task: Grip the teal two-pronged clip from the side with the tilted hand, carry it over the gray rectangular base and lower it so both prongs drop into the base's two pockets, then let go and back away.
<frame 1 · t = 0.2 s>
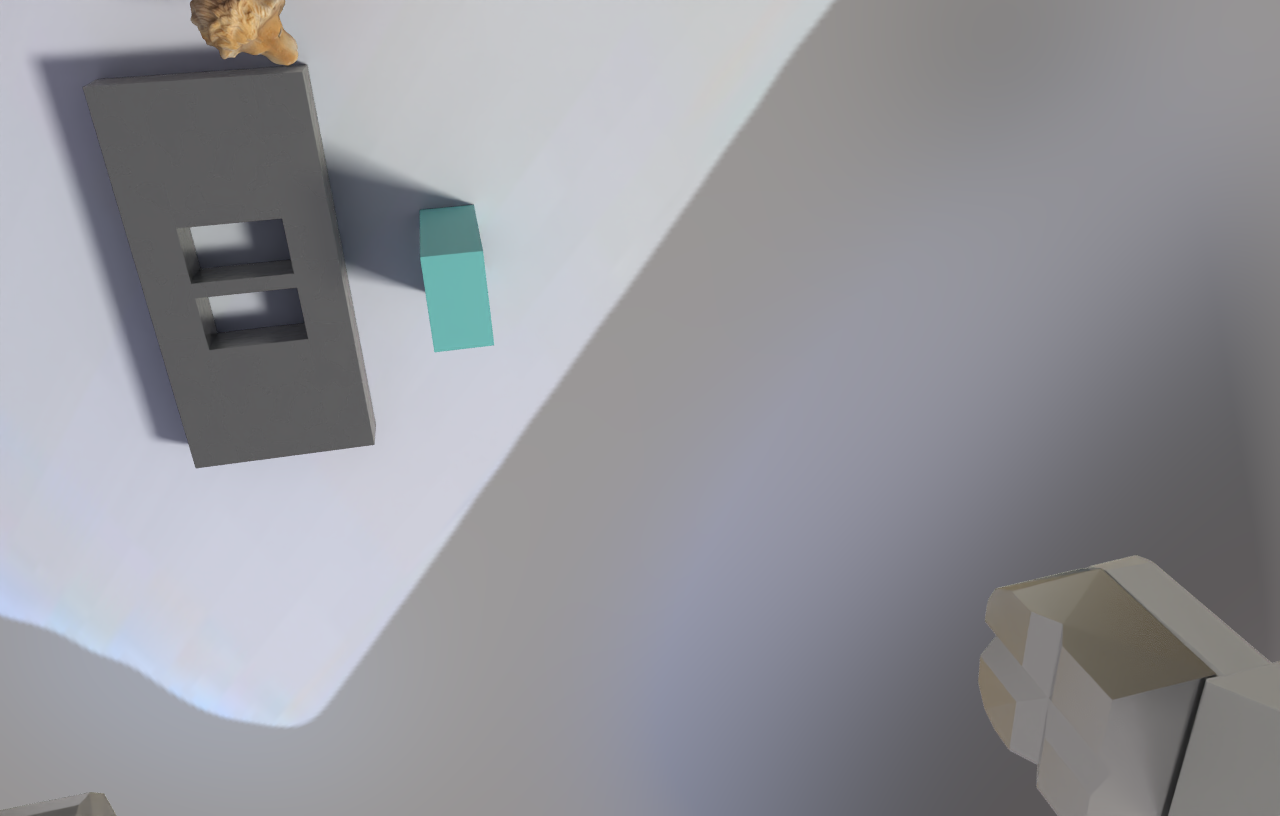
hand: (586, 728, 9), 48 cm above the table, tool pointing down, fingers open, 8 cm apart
clip: (452, 250, 55), on the table
gray rectangular base: (251, 270, 53), on the table
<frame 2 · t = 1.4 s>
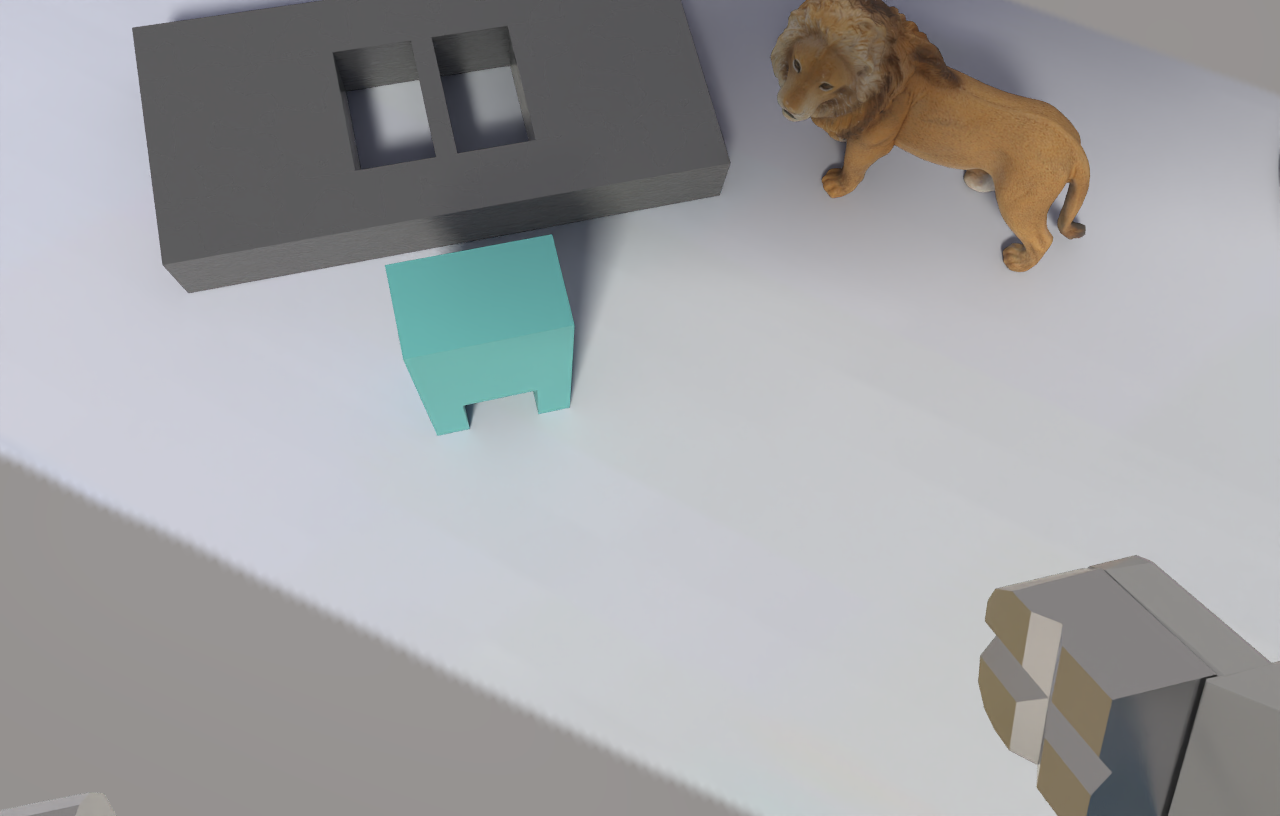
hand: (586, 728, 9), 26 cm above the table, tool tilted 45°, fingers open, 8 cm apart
clip: (496, 384, 36), on the table
lion figurine: (894, 195, 40), on the table
gray rectangular base: (440, 132, 39), on the table
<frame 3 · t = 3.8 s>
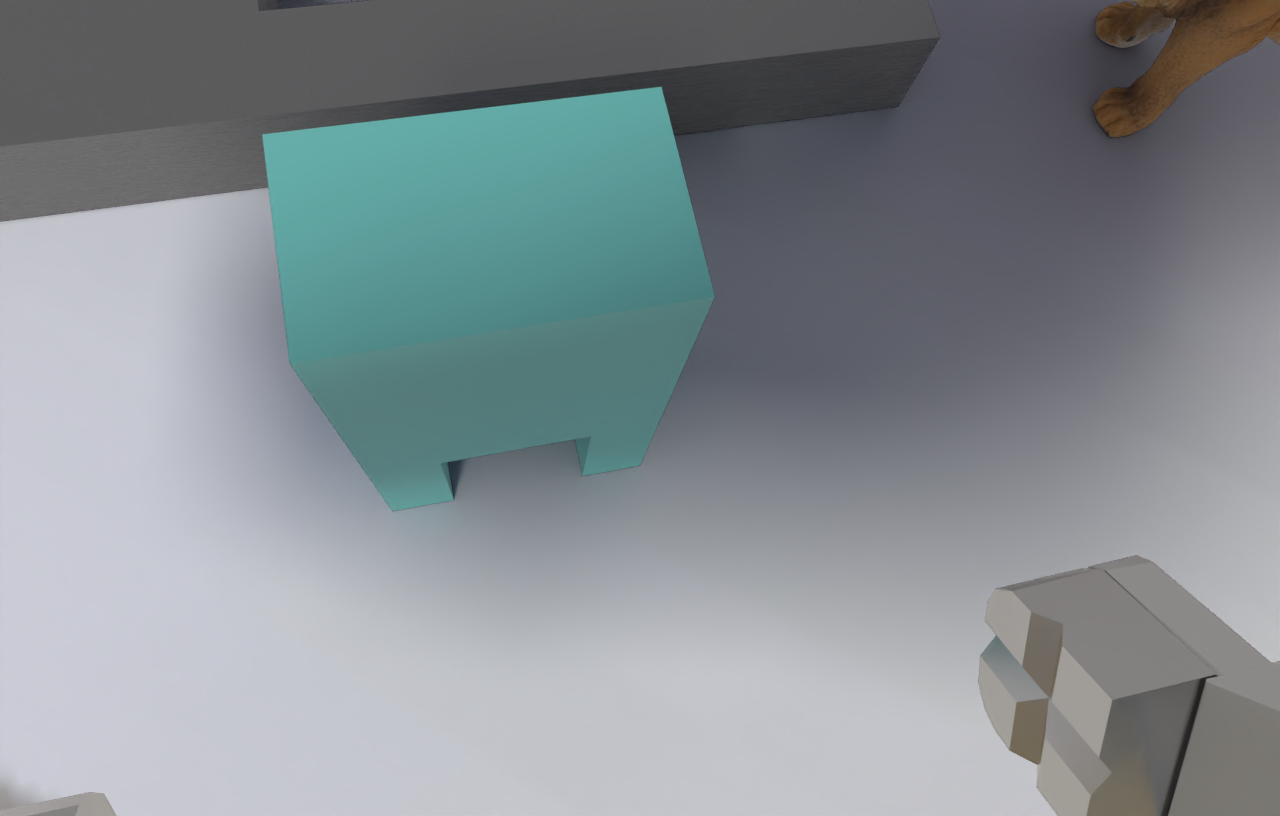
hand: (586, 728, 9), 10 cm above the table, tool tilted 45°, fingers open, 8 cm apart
clip: (505, 417, 20), on the table
lion figurine: (1208, 137, 24), on the table
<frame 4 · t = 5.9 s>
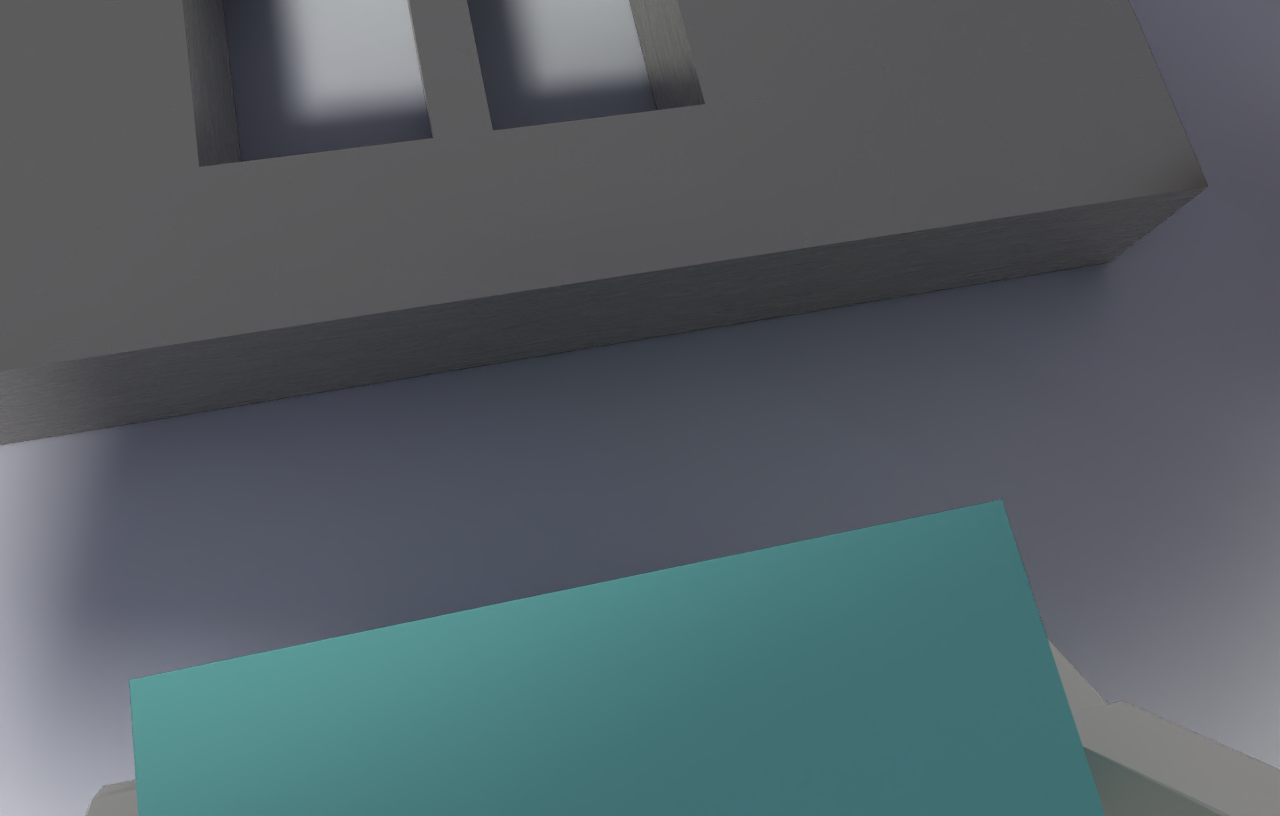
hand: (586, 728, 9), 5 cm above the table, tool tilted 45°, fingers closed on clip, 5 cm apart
clip: (576, 771, 13), on the table, touching gripper
gray rectangular base: (447, 85, 16), on the table
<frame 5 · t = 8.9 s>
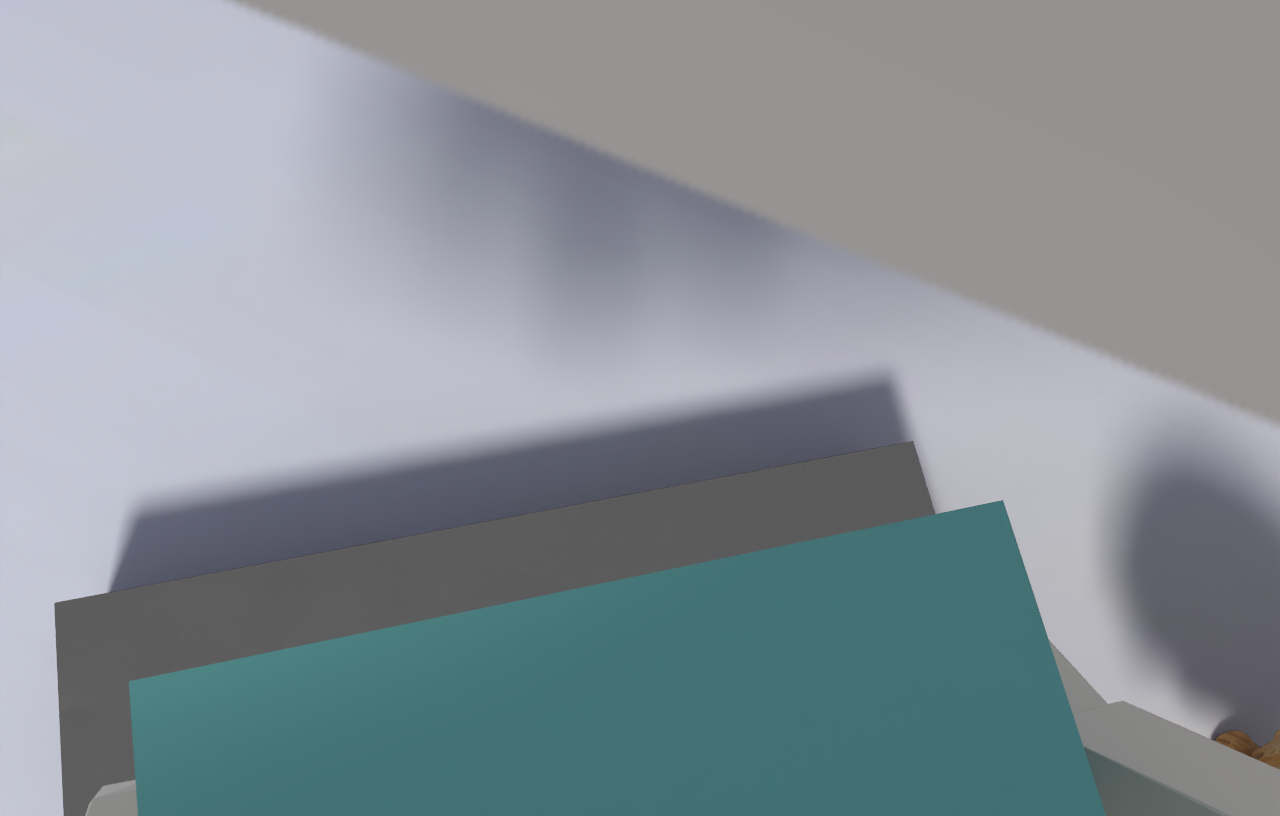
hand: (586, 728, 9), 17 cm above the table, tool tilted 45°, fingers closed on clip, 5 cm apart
clip: (576, 772, 13), point 12 cm above the table, touching gripper
gray rectangular base: (551, 725, 25), on the table
when the fingers open (6 cm above the table, at t = 11.9 s): clip drops 1 cm, resting in gray rectangular base.
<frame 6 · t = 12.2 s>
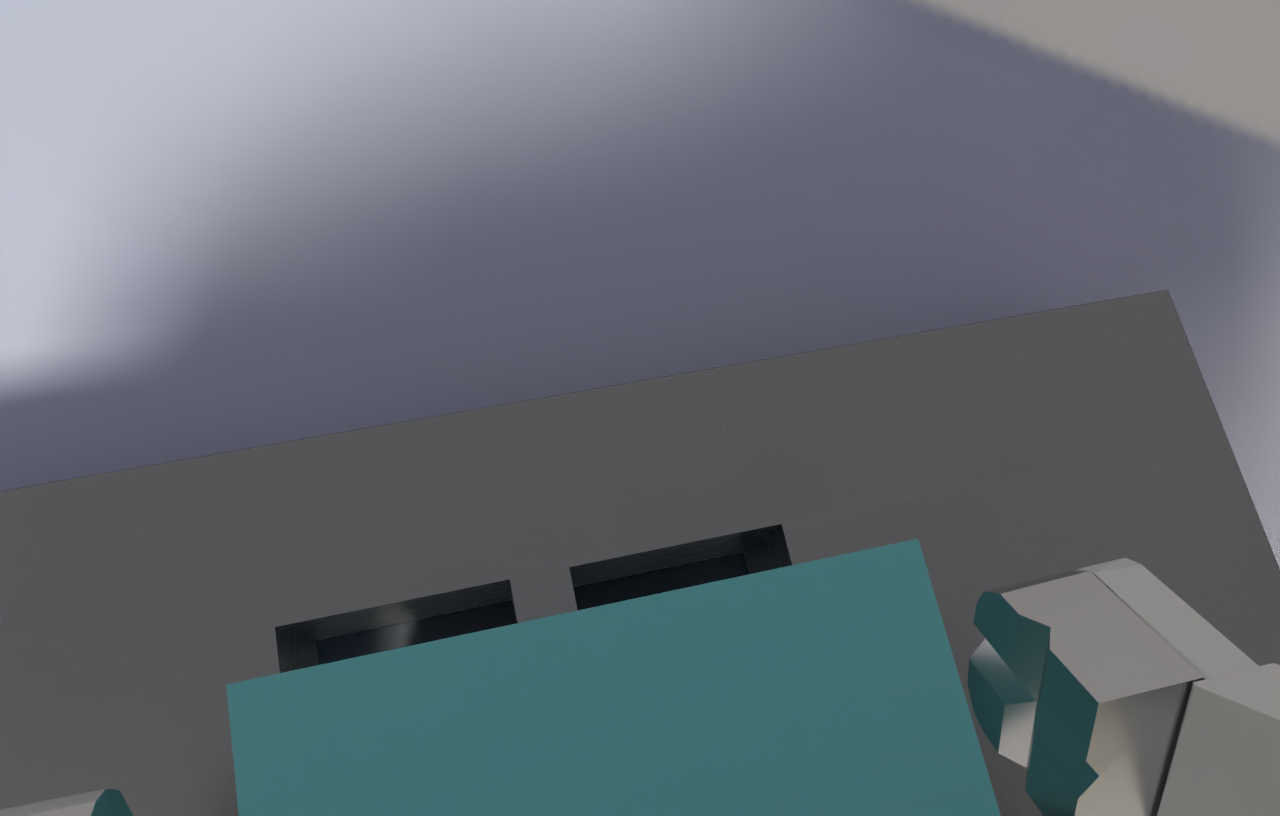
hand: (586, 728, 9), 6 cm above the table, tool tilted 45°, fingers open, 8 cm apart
clip: (576, 764, 14), resting in gray rectangular base
gray rectangular base: (569, 766, 14), on the table
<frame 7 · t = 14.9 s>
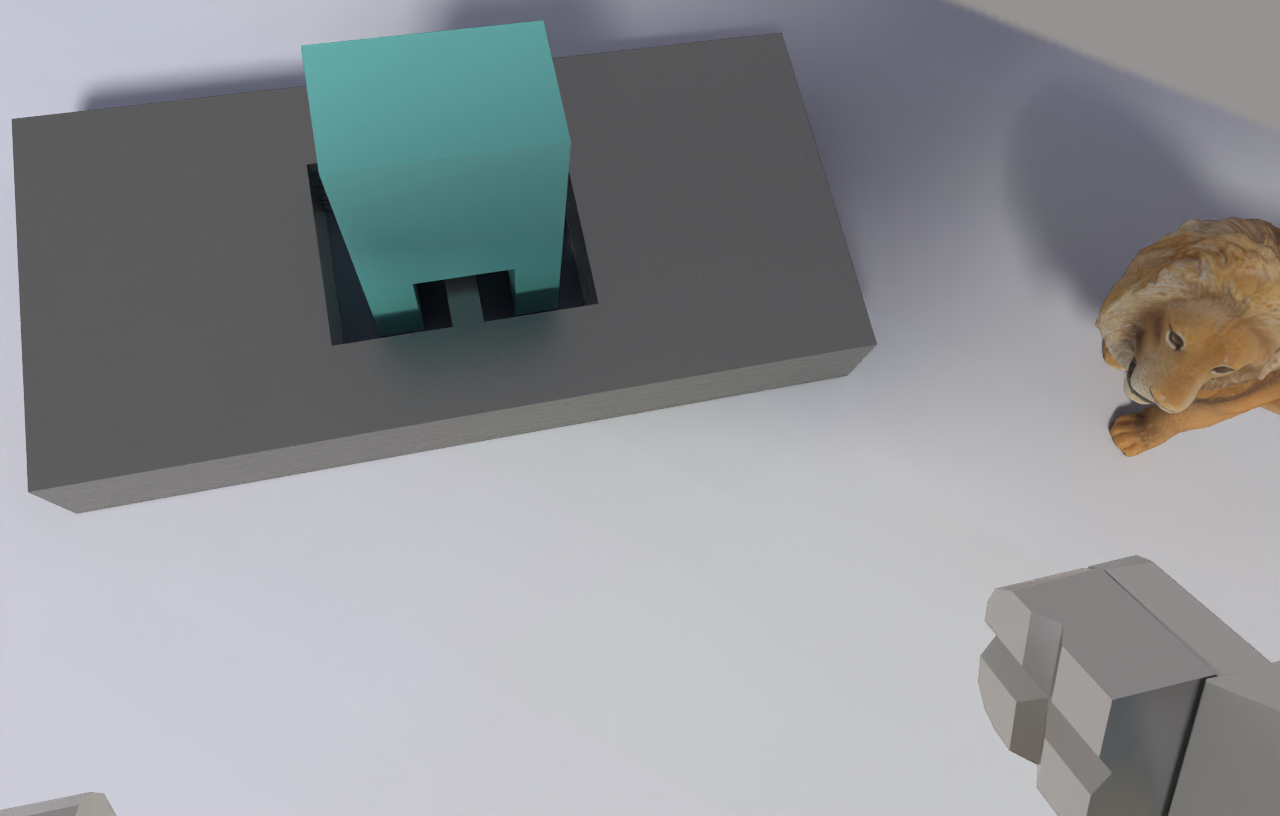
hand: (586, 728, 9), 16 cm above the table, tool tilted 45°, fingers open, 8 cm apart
clip: (461, 274, 28), resting in gray rectangular base
lion figurine: (1204, 440, 29), on the table
gray rectangular base: (458, 274, 28), on the table
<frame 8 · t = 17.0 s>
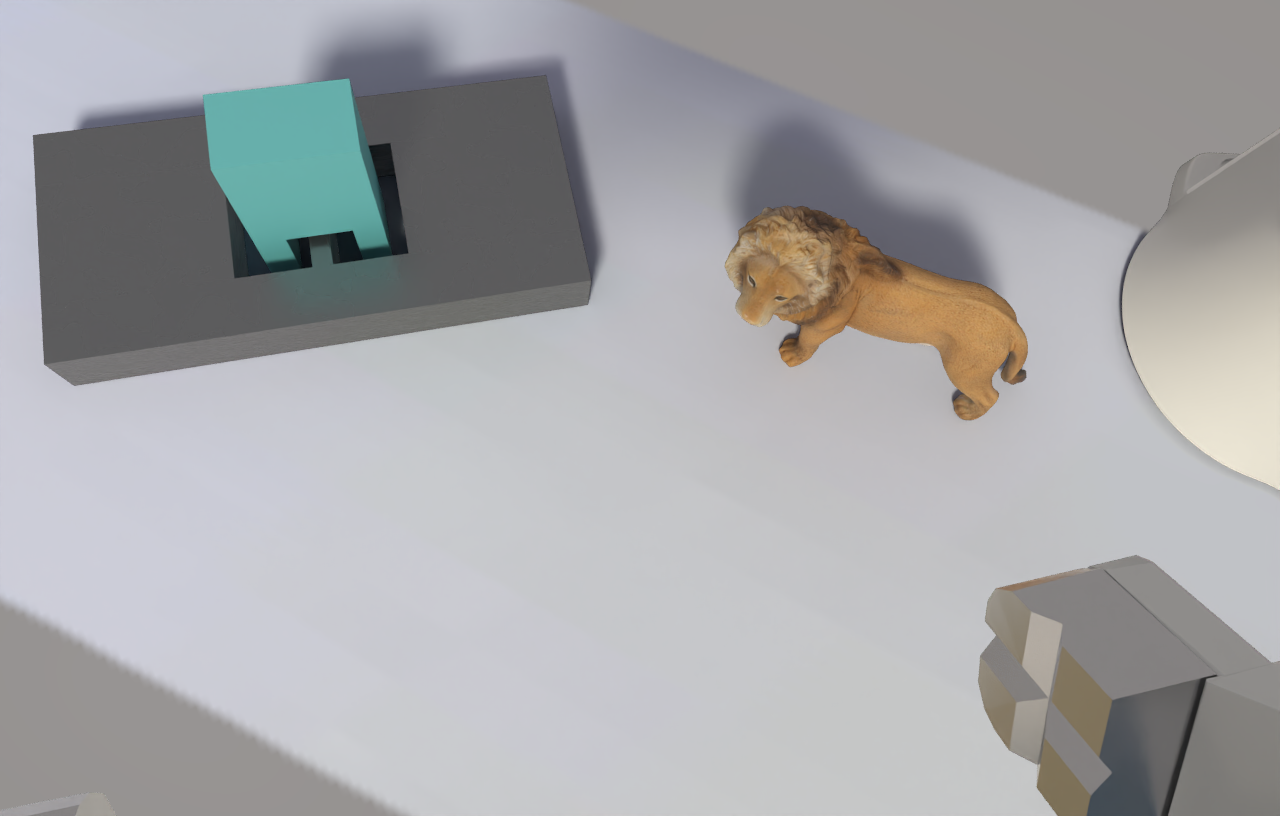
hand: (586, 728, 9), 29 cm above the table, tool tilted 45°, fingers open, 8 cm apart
clip: (329, 236, 42), resting in gray rectangular base
lion figurine: (847, 356, 43), on the table
gray rectangular base: (327, 237, 42), on the table
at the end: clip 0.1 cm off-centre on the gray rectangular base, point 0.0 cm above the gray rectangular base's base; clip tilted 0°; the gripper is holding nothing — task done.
